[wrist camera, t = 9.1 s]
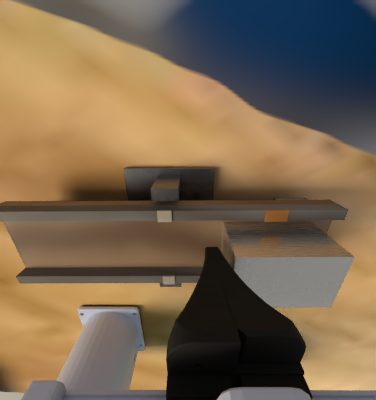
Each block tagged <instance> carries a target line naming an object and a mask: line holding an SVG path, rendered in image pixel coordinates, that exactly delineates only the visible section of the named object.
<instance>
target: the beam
mask: <svg viewBox="0 0 376 400" xmlns="http://www.w3.org/2000/svg"><path fill="white" fill-rule="evenodd" d="M347 212H348V210H347V209H345V208H344V207H342V206H340V205H338V204H336V203H335V202H333V201H331V200H307V199H306V198H274V200H190V201H5V202H3V203H1V204H0V222H4V224H5V226H6V228H7V230H8V232H9V234H10V236H11V238H12V240H13V242H14V244H15V246H16V248H17V250H18V253H19V255H20V257H21V259H22V261H23V263H24V265H25V267H26V268H25V269H24V270H23V271H22V272H21V273H19V274H18V275H17V276H16V277H17V279H18V281H19V283H163V284H175V283H198V280H199V278H200V275H201V272H202V268H203V264H204V260H205V248H206V247H218V248H219V249H220V251H221V244H222V232H223V222H312V223H314V224H315V225H316V226H317V227H318V228H320V229H321V230H322V231H323V232H325V233H326V234H327V231H328V228H329V226H330V223H331V220H344V219H345V217H346V214H347Z"/></svg>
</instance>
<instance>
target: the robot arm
mask: <svg viewBox="0 0 376 400" xmlns="http://www.w3.org/2000/svg"><path fill="white" fill-rule="evenodd" d="M77 312H78V314H79V317H80V319H81V322H82V325H83V329H82V331H81V333H80V335H79V337H78V339H77V341H76V343H75V345H74V346H73V348H72V350H71V352H70V354H69V356H68V358H67V360H66V362H65V364H64V366H63V368H62V370H61V372H60V374H59V376H58V378H57V380H56V381H33V382H32V383H31V384H30V386H29V388H28V389H27V391H26V393H25V394H24V396H23V398H22V399H21V400H376V391H323V390H309V388H308V385H307V383H306V381H305V379H304V376H303V375H304V370H303V368H302V366H301V364H300V362H301V359H302V357H303V355H304V353H305V349H306V345H305V342H304V340H303V338H302V336H301V334H300V333H299V331H298V330H297V328H296V326H295V325H294V323H293V322H292V321H291V320H290V319H288V318H287V317H285V316H284V315H282V314H281V313H279V312H278V311H277V310H275V309H274V308H272V307H271V306H270V305H269V304H267V303H266V302H265V301H264V300H262V299H261V298H260V297H259V296H258V295H257V294H255V293H254V292H253V291H252V290H251V289H250V288H249V287H248V286H247V285H246V284H245V283H244V282H243V281H242V279H241V278H240V277H239V276H238V275H237V274H236V272H235V271H234V270H233V269H232V267H231V266H230V264H229V263H228V262H227V260H226V259H225V257H224V256H223V254H222V252H221V251H220V249H219V248H218V247H206V248H205V260H204V264H203V268H202V272H201V275H200V278H199V280H198V283H197V285H196V287H195V289H194V292H193V294H192V296H191V297H190V299H189V301H188V303H187V304H186V306H185V308H184V309H183V311H182V312H181V314H180V315H179V317H178V318H177V319H176V321H175V324H174V326H173V329H172V332H171V335H170V338H169V341H168V346H167V358H166V361H167V371H168V377H167V389H166V390H129V389H130V384H131V380H132V375H133V371H134V366H135V362H136V357H137V353H138V351H144V350H145V342H144V337H143V331H142V325H141V320H140V314H139V309H138V308H137V307H79V308H78V310H77Z"/></svg>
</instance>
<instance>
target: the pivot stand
mask: <svg viewBox="0 0 376 400" xmlns="http://www.w3.org/2000/svg"><path fill="white" fill-rule="evenodd" d="M124 175H125V181H126V188H127V194H128V201H190V200H213V187H214V167H126V168H124ZM160 287H181V283H175V284H163V283H160Z"/></svg>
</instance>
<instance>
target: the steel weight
mask: <svg viewBox="0 0 376 400" xmlns="http://www.w3.org/2000/svg"><path fill="white" fill-rule="evenodd" d="M221 252H222V254H223V256H224V257H225V259H226V260H227V262H228V263H229V264H230V266H231V267H232V269H233V270H234V271H235V272H236V274H237V275H238V276H239V277H240V278H241V279H242V281H243V282H244V283H245V284H246V285H247V286H248V287H249V288H250V289H251V290H252V291H253V292H254V293H255V294H257V295H258V296H259V297H260V298H261V299H262V300H264V301H265V302H266V303H267V304H269V305H270V306H271V307H331V306H332V304H333V302H334V300H335V298H336V295H337V293H338V291H339V289H340V287H341V285H342V283H343V280H344V278H345V276H346V274H347V272H348V270H349V268H350V266H351V263H352V261H353V259H354V256H353V255H352V254H350V253H349V252H348V251H347V250H345V249H344V248H343V247H342V246H340V245H339V244H338V243H337V242H336V241H334V240H333V239H332V238H331V237H329V236H328V235H327V234H326V233H325V232H323V231H322V230H321V229H320V228H318V227H317V226H316V225H315V224H314V223H312V222H223V232H222V244H221Z"/></svg>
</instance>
